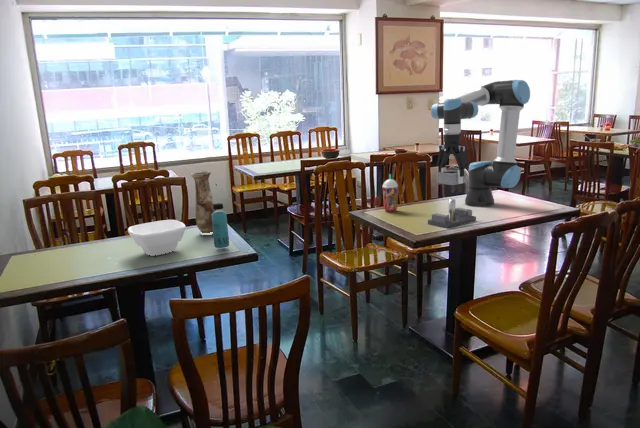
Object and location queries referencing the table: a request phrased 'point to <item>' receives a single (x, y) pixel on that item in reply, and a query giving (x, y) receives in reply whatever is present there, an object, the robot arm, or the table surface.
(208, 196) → the vase
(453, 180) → the grey square socket block
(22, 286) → the table surface
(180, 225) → the bowl
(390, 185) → the smoothie
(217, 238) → the beverage bottle
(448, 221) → the shaft stand
